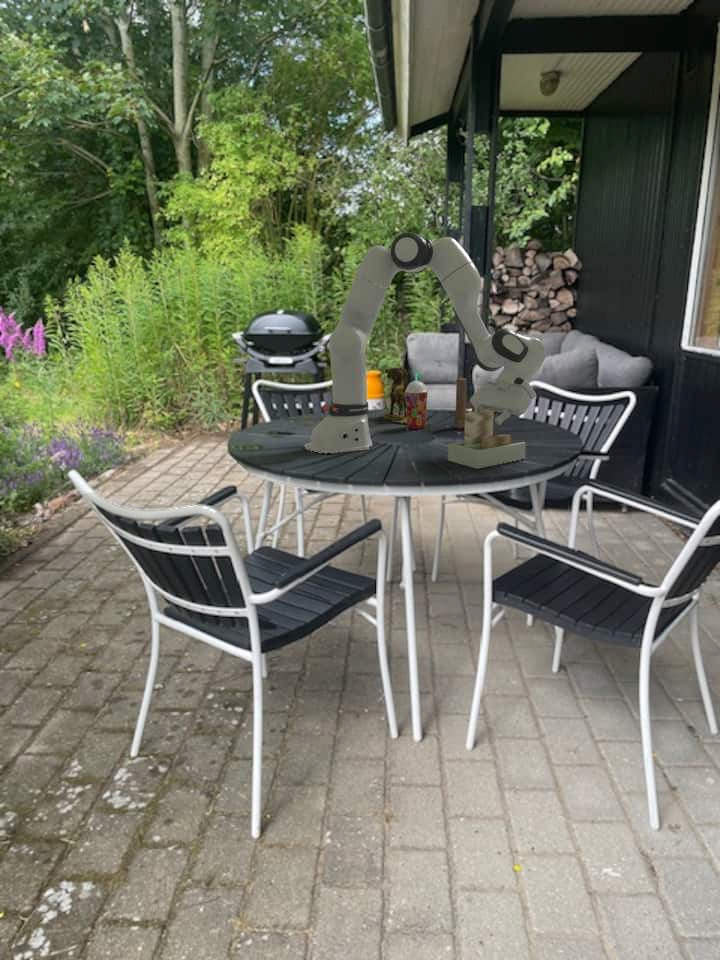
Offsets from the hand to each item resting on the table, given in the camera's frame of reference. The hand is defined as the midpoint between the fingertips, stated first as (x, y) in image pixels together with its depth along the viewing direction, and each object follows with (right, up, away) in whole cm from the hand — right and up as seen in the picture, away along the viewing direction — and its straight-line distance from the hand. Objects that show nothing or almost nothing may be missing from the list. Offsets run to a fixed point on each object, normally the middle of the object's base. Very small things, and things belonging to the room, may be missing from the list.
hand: (485, 420), depth 208 cm
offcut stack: (+2, -12, -3) cm, 13 cm away
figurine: (-22, +6, +68) cm, 72 cm away
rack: (+1, -11, 0) cm, 12 cm away
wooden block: (+3, +2, +50) cm, 50 cm away
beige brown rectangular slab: (-2, -11, +1) cm, 11 cm away
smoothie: (-17, +2, +50) cm, 53 cm away
